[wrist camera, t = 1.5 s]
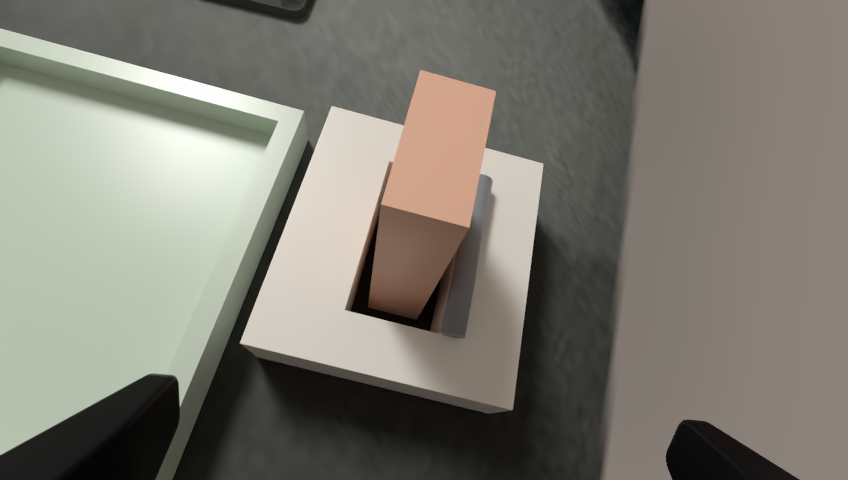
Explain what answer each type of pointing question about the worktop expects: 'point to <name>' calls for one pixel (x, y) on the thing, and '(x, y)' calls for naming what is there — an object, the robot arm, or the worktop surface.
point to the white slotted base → (344, 261)
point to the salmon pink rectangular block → (429, 192)
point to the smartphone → (276, 6)
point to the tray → (125, 228)
